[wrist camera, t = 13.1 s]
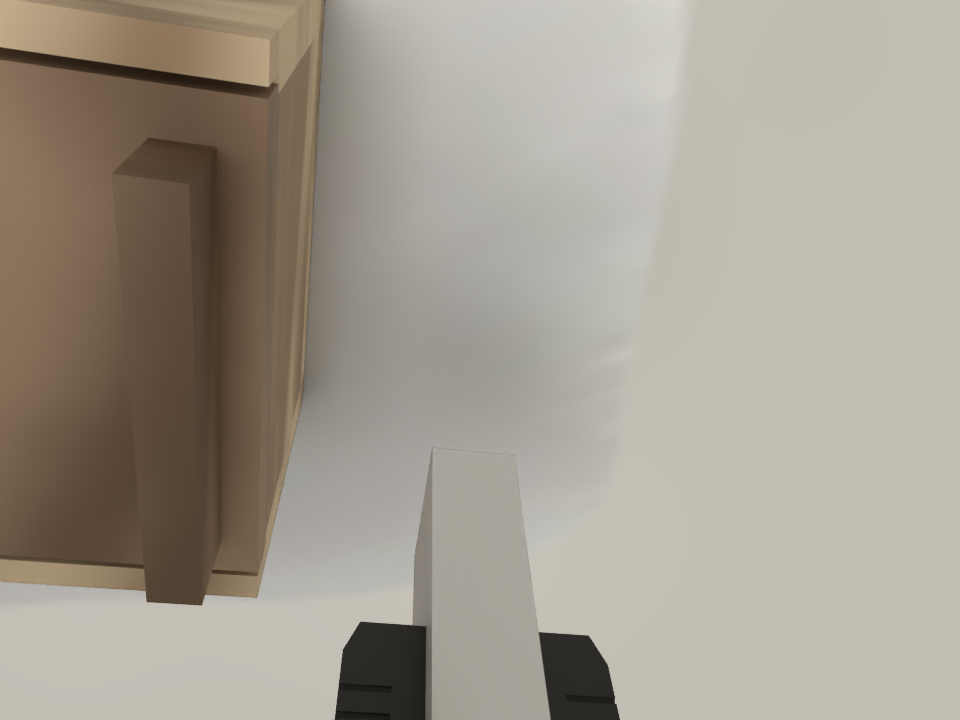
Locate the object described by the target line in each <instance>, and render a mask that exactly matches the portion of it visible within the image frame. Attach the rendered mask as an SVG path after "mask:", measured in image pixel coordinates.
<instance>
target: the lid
mask: <svg viewBox="0 0 960 720" xmlns="http://www.w3.org/2000/svg"><path fill="white" fill-rule="evenodd" d="M278 86H279V84H277V83H271V85H270V86H269V87H265V86H258V85H251V84H245V83H238V82H231V81H224V80H218V79H211V78H204V77H198V76H191V75H184V74H177V73H171V72H164V71H157V70H151V69H144V68H137V67H130V66H124V65H117V64H110V63H104V62H97V61H90V60H83V59H77V58H70V57H63V56H57V55H50V54H43V53H36V52H30V51H23V50H16V49H10V48H3V47H0V555H4V556H19V557H33V558H48V559H63V560H78V561H93V562H108V563H123V564H138V565H144V574H145V586H146V599H147V602H155V603H171V604H188V605H202V603H203V600H204V597H205V593H206V590H207V587H208V583H209V580H210V577H211V573H212V570H227V571H242V572H258V568H259V564H260V560H261V555H262V551H263V547H264V543H265V535H266V501H267V466H268V432H269V397H270V362H271V328H272V293H273V259H274V224H275V190H276V155H277V120H278Z"/></svg>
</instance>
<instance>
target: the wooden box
mask: <svg viewBox="0 0 960 720" xmlns="http://www.w3.org/2000/svg"><path fill="white" fill-rule="evenodd" d="M324 4H325V0H0V47H3V48H10V49H16V50H23V51H30V52H36V53H43V54H50V55H57V56H63V57H70V58H77V59H83V60H90V61H97V62H104V63H110V64H117V65H124V66H130V67H137V68H144V69H151V70H157V71H164V72H171V73H177V74H184V75H191V76H198V77H204V78H211V79H218V80H224V81H231V82H238V83H245V84H251V85H258V86H265V87H269V86H270V85H271V83H277V84H279V86H278V120H277V155H276V190H275V224H274V259H273V293H272V328H271V362H270V397H269V432H268V466H267V501H266V535H265V543H264V547H263V551H262V555H261V560H260V564H259V568H258V572H242V571H227V570H212V573H211V577H210V580H209V583H208V587H207V590H206V593H205V595H220V596H236V597H252V598H257V596H258V592H259V588H260V583H261V579H262V575H263V570H264V566H265V561H266V557H267V553H268V548H269V544H270V540H271V535H272V531H273V526H274V522H275V518H276V513H277V509H278V505H279V500H280V496H281V492H282V487H283V483H284V478H285V474H286V470H287V465H288V461H289V457H290V452H291V448H292V443H293V439H294V435H295V430H296V426H297V422H298V417H299V413H300V408H301V404H302V400H303V384H304V366H305V347H306V329H307V311H308V293H309V275H310V257H311V239H312V221H313V203H314V185H315V167H316V149H317V131H318V113H319V95H320V77H321V58H322V40H323V22H324ZM0 582H14V583H30V584H46V585H61V586H77V587H93V588H109V589H125V590H141V591H146V586H145V574H144V565H138V564H123V563H108V562H93V561H78V560H63V559H48V558H33V557H19V556H4V555H0Z"/></svg>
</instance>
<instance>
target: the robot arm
mask: <svg viewBox="0 0 960 720" xmlns="http://www.w3.org/2000/svg"><path fill="white" fill-rule="evenodd" d="M413 596H414V597H413V625H399V624H385V623H371V622H360V623H359V625H358V627H357V628H356V630H355V631H354V633H353V635H352V636H351V638H350V639H349V641H348V643H347V644H346V646H345V647H344V649H343V655H342V663H341V672H340V680H339V689H338V697H337V705H336V714H335V720H620V718H619V714H618V709H617V705H616V704H615V696H614V691H613V687H612V682H611V678H610V673H609V668H608V665H607V663H606V662H605V660H604V659H603V657H602V656H601V654H600V652H599V651H598V649H597V648H596V646H595V645H594V643H593V642H592V640H591V639H590V637H589V636H585V635H570V634H556V633H541V632H538V626H537V618H536V610H535V604H534V596H533V589H532V581H531V574H530V567H529V560H528V552H527V545H526V538H525V531H524V523H523V516H522V509H521V502H520V494H519V487H518V480H517V473H516V465H515V458H514V455H504V454H494V453H484V452H474V451H463V450H453V449H443V448H432V454H431V460H430V466H429V472H428V478H427V484H426V490H425V496H424V502H423V508H422V514H421V521H420V527H419V533H418V539H417V545H416V551H415V560H414V595H413Z"/></svg>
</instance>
